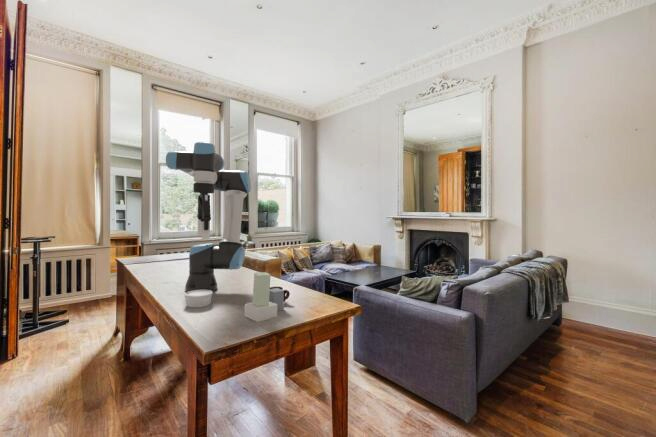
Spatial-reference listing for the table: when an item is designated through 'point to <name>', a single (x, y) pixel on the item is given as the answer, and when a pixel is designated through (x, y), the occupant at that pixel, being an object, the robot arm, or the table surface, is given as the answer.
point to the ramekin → (198, 298)
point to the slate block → (277, 297)
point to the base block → (260, 311)
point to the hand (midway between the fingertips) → (203, 237)
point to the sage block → (261, 289)
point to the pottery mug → (284, 292)
